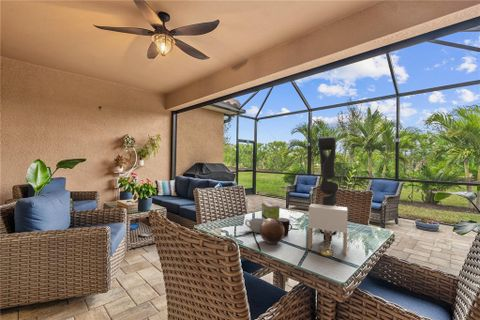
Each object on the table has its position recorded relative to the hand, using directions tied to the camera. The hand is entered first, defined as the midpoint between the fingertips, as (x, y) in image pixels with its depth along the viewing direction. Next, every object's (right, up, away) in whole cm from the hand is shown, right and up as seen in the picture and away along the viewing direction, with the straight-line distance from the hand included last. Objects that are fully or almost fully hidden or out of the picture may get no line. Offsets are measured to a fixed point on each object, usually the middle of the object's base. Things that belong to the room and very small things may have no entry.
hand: (327, 240), depth 142 cm
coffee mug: (-25, 0, +11) cm, 28 cm away
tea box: (-30, 0, +42) cm, 52 cm away
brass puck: (-8, -1, -18) cm, 20 cm away
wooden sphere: (-35, 0, -4) cm, 36 cm away
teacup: (-44, 0, +18) cm, 47 cm away
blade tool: (-2, -1, -5) cm, 6 cm away
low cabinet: (-4, -1, -11) cm, 11 cm away
